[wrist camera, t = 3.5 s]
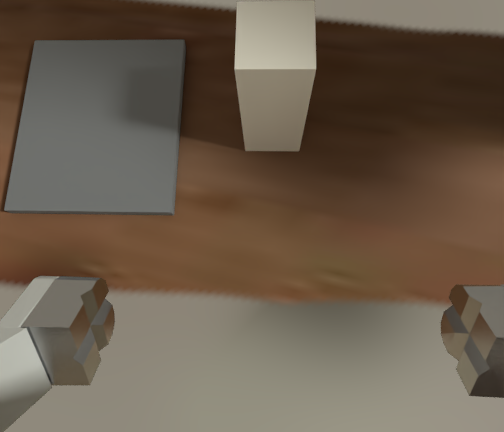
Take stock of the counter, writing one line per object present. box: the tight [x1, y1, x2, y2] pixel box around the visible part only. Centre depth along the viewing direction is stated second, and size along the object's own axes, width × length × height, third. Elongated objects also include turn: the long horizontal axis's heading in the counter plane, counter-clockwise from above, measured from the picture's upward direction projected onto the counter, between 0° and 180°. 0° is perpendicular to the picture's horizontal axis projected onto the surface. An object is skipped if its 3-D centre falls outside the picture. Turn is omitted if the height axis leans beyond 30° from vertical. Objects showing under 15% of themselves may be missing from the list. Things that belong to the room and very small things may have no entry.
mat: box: [4, 40, 186, 215], centre depth 29 cm, size 12×14×1 cm
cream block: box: [235, 0, 316, 151], centre depth 24 cm, size 4×4×10 cm
